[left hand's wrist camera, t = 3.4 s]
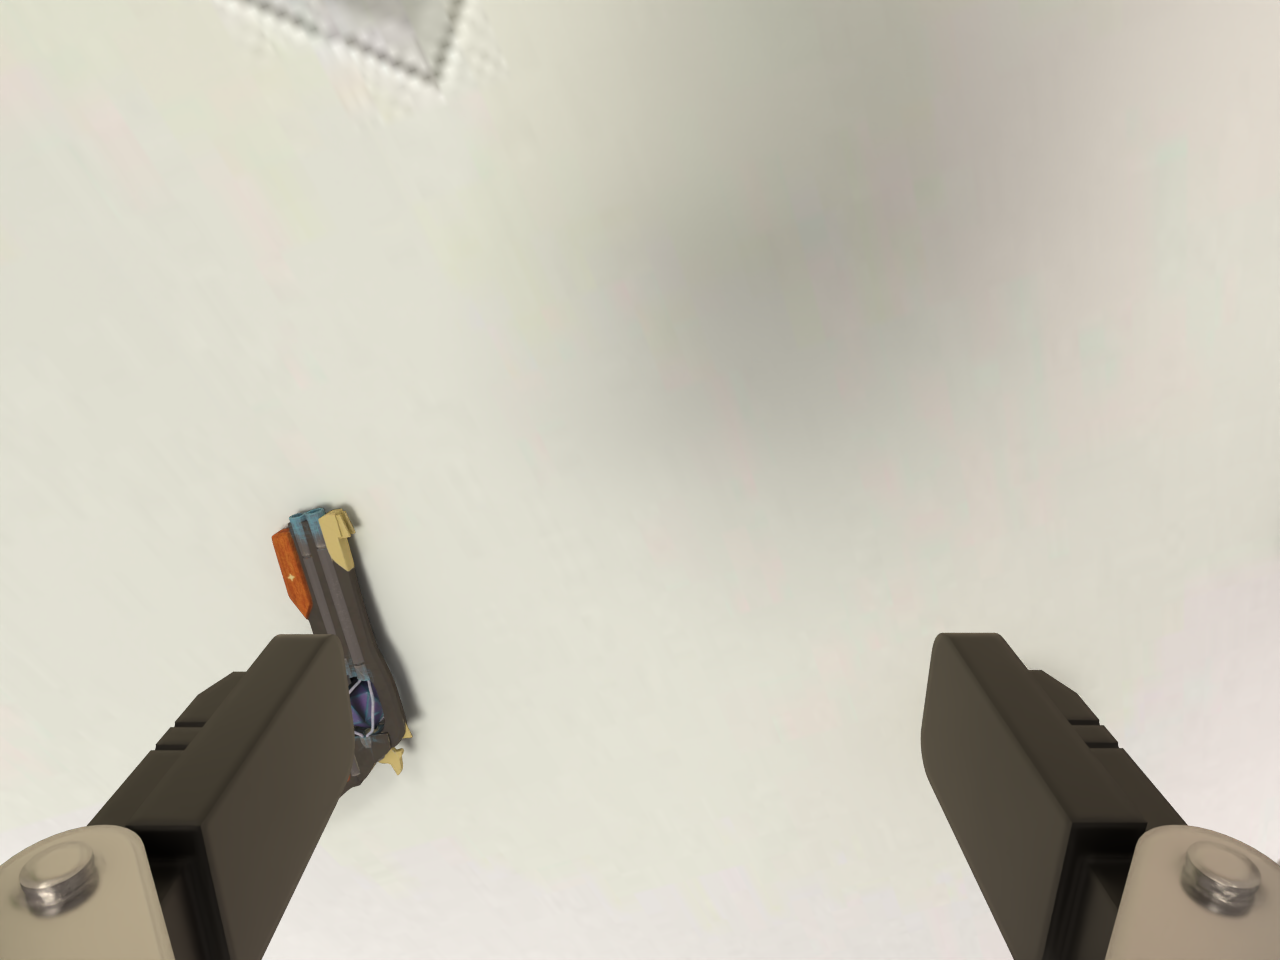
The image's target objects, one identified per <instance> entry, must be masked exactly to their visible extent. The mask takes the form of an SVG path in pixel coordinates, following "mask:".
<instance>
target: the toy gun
mask: <svg viewBox="0 0 1280 960" xmlns="http://www.w3.org/2000/svg"><path fill="white" fill-rule="evenodd" d="M289 520H290V523H288V527H289V528H286V529H282V530H280V531H279V532H277V533H276V534H274V535H273V536H272V541H273V545H274V549H275V552H276V555H277V559H278V562H279V565H280V569H281V572H282V575H283V579H284V582H285V585H286V589H287V592H288V595H289V597H290V599H291V600H292V601H293V603H294V604H295V605H296V606H297V608H298V609H299V610H300V612H301V613H302V614H303V615H304V617H305V618H306V619H308V620H309V622H310V625H311V628H312V631H313V634H334V635H336V636H338V638H339V639H340V641H341V644H342V647H343V652H344V659H345V666H346V673H347V681H348V688H349V695H350V702H351V709H352V717H353V724H354V726H360V727H356V728H354V732H355V749H354V758H353V764H352V768H351V772H350V775H349V778H348V781H347V783H346V785H345V787H344V789H343V791H342V793H341V796H342V795H343V794H344V793H345V792H346V791H348V790H349V789H350V788H352V787H355V786H359V785H360V784H361V783H362V782H363V780H364V779H365V778H366V777H367V776H368V775H369V773H370V772H371V770H372V769H373V767H374V766H375V764H376V762H380V763H389V764H391V765H392V767H393V769H394V770H395V772H396V773H397V775H399V774H400V773H401V771H402V769H403V762H402V754H403V752H404V749H403V748H401V749H397V750H396V748H395V746H396V745H397V744H398V743H399V742H400V741H401V740H402V738H411V737H412V735H411V733H410V730H409V728H408V726H407V721H406V717H405V713H404V710H403V707H402V703H401V700H400V697H399V693H398V690H397V687H396V684H395V681H394V679H393V677H392V674H391V672H390V670H389V668H388V666H387V664H386V662H385V660H384V658H383V656H382V655H381V653H380V651H379V649H378V647H377V644H376V641H375V638H374V635H373V631H372V628H371V625H370V622H369V618H368V615H367V612H366V608H365V605H364V602H363V598H362V594H361V591H360V587H359V584H358V580H357V576H356V573H355V568H354V567H355V566H354V562H353V558H352V554H351V551H350V547H349V543H348V540H347V537H351V535H350V534H354V533H356V532H355V530H354V528H353V526H352V524H351V522H350V520H349V517H348V515H347V513H346V511H343V510H342V509H336V510H332V511H329V512H328V513H327V514H325V511H324V508H317V509H313V510H310V511H308V512H302V513H297V514H295V515H292V516H290V517H289ZM383 718H384V725H378V724H379V722H380V721H381V720H382V719H383ZM341 796H340V797H341Z"/></svg>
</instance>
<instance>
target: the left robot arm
mask: <svg viewBox="0 0 1280 960" xmlns="http://www.w3.org/2000/svg"><path fill="white" fill-rule="evenodd" d="M354 749H355V732H354V724H353V717H352V709H351V702H350V695H349V688H348V681H347V673H346V666H345V659H344V652H343V647H342V644H341V641H340V639H339V638H338V636H336V635H334V634H280V635H277V636H275V637H274V638H273V639H272V640H271V641H270V643H269V644H268V645H267V646H266V648H265V649H264V650H263V651H262V653H261V654H260V655H259V656H258V658H257V659H256V660H255V661H254V663H253V664H252V665H251V667H250V668H249V669H248V670H247V672H232V673H231V674H229V675H228V676H226V677H225V678H223V679H222V680H220V681H218V682H217V683H215V684H214V685H212V686H211V687H209V688H208V689H206V690H205V691H203V692H202V693H200V694H199V695H197V697H196V698H195V699H194V700H193V701H192V702H191V704H190V705H189V706H188V707H187V708H186V710H185V711H184V712H183V713H182V714H181V715H180V717H179V718H178V719H177V720H176V721H175V727H170V728H169V730H168V731H167V732H166V733H165V734H164V735H163V737H162V738H161V739H160V740H159V741H158V743H157V744H156V749H155V750H151V751H150V752H149V753H148V754H147V755H146V757H145V758H144V759H143V760H142V761H141V763H140V764H139V765H138V766H137V767H136V768H135V770H134V771H133V772H132V773H131V774H130V776H129V777H128V778H127V779H126V780H125V781H124V783H123V784H122V785H121V786H120V787H119V788H118V790H117V791H116V792H115V793H114V794H113V796H112V797H111V798H110V799H109V800H108V801H107V803H106V804H105V805H104V806H103V807H102V809H101V810H100V811H99V812H98V813H97V814H96V816H95V817H94V818H93V819H92V820H91V821H90V823H89V824H88V825H87V826H86V827H80V828H76V829H72V830H68V831H65V832H62V833H59V834H56V835H53V836H51V837H48V838H46V839H44V840H41V841H39V842H37V843H35V844H33V845H31V846H29V847H27V848H26V849H24V850H22V851H21V852H19V853H18V854H16V855H14V856H13V857H11V858H10V859H9V860H7V861H6V862H5V863H3V864H2V865H1V866H0V960H261V959H262V957H263V955H264V953H265V951H266V949H267V947H268V945H269V943H270V941H271V939H272V937H273V935H274V933H275V930H276V928H277V926H278V924H279V922H280V920H281V918H282V916H283V914H284V912H285V910H286V908H287V906H288V903H289V901H290V899H291V897H292V895H293V893H294V891H295V889H296V887H297V885H298V883H299V881H300V879H301V876H302V874H303V872H304V870H305V868H306V866H307V864H308V862H309V860H310V858H311V856H312V854H313V852H314V850H315V847H316V845H317V843H318V841H319V839H320V837H321V835H322V833H323V831H324V829H325V827H326V825H327V823H328V820H329V818H330V816H331V814H332V812H333V810H334V808H335V806H336V804H337V802H338V800H339V798H340V796H341V793H342V791H343V789H344V787H345V785H346V783H347V781H348V778H349V775H350V772H351V768H352V764H353V758H354ZM921 751H922V759H923V764H924V768H925V772H926V775H927V778H928V780H929V782H930V784H931V786H932V788H933V791H934V793H935V795H936V797H937V799H938V801H939V803H940V805H941V807H942V809H943V812H944V814H945V816H946V818H947V820H948V822H949V824H950V826H951V828H952V831H953V833H954V835H955V837H956V839H957V841H958V843H959V845H960V847H961V849H962V852H963V854H964V856H965V858H966V860H967V862H968V864H969V866H970V868H971V870H972V873H973V875H974V877H975V879H976V881H977V883H978V885H979V887H980V889H981V891H982V894H983V896H984V898H985V900H986V902H987V904H988V906H989V908H990V910H991V912H992V915H993V917H994V919H995V921H996V923H997V925H998V927H999V929H1000V931H1001V933H1002V936H1003V938H1004V940H1005V942H1006V944H1007V946H1008V948H1009V950H1010V952H1011V954H1012V957H1013V959H1014V960H1280V866H1279V865H1278V864H1277V863H1275V862H1274V861H1273V860H1271V859H1270V858H1269V857H1267V856H1266V855H1264V854H1262V853H1261V852H1259V851H1258V850H1256V849H1254V848H1253V847H1251V846H1249V845H1247V844H1245V843H1243V842H1241V841H1239V840H1236V839H1234V838H1232V837H1229V836H1227V835H1224V834H1221V833H1218V832H1215V831H1212V830H1208V829H1204V828H1200V827H1194V826H1188V825H1187V824H1186V823H1185V821H1184V820H1183V819H1182V818H1181V817H1180V815H1179V814H1178V813H1177V812H1176V811H1175V810H1174V808H1173V807H1172V806H1171V805H1170V804H1169V802H1168V801H1167V800H1166V799H1165V798H1164V796H1163V795H1162V794H1161V793H1160V792H1159V791H1158V789H1157V788H1156V787H1155V786H1154V785H1153V783H1152V782H1151V781H1150V780H1149V779H1148V777H1147V776H1146V775H1145V774H1144V773H1143V771H1142V770H1141V769H1140V768H1139V767H1138V766H1137V764H1136V763H1135V762H1134V761H1133V760H1132V758H1131V757H1130V756H1129V755H1128V754H1127V752H1126V751H1125V750H1124V749H1123V748H1119V747H1118V742H1117V741H1116V739H1115V738H1114V737H1113V736H1112V735H1111V733H1110V732H1109V731H1108V730H1107V729H1106V727H1105V726H1104V725H1100V724H1099V719H1098V718H1097V717H1096V716H1095V714H1094V713H1093V712H1092V711H1091V710H1090V708H1089V707H1088V706H1087V705H1086V704H1085V703H1084V701H1083V700H1082V699H1081V698H1080V697H1079V695H1078V694H1077V693H1076V692H1074V691H1073V690H1071V689H1070V688H1068V687H1066V686H1065V685H1063V684H1062V683H1060V682H1059V681H1057V680H1056V679H1054V678H1053V677H1051V676H1050V675H1048V674H1047V673H1045V672H1044V671H1042V670H1028V669H1027V668H1026V667H1025V665H1024V664H1023V663H1022V661H1021V660H1020V659H1019V658H1018V656H1017V655H1016V654H1015V653H1014V651H1013V650H1012V649H1011V647H1010V646H1009V645H1008V644H1007V642H1006V641H1005V640H1004V638H1003V637H1002V636H1001V635H999V634H997V633H940V634H939V635H937V637H936V639H935V641H934V644H933V648H932V654H931V662H930V669H929V676H928V683H927V691H926V698H925V705H924V713H923V720H922V728H921Z"/></svg>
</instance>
